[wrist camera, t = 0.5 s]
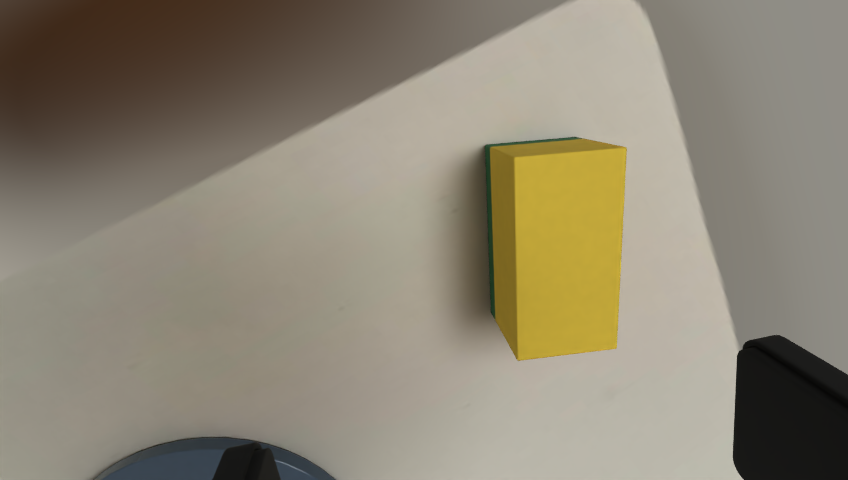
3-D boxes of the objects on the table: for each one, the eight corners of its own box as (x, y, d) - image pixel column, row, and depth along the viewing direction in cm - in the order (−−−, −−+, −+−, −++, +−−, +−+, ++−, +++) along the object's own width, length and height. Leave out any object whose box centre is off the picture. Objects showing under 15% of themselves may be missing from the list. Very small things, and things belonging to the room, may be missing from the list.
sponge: (576, 136, 24) (627, 147, 19) (572, 303, 26) (617, 349, 22) (484, 144, 23) (513, 157, 19) (490, 312, 26) (517, 361, 21)
